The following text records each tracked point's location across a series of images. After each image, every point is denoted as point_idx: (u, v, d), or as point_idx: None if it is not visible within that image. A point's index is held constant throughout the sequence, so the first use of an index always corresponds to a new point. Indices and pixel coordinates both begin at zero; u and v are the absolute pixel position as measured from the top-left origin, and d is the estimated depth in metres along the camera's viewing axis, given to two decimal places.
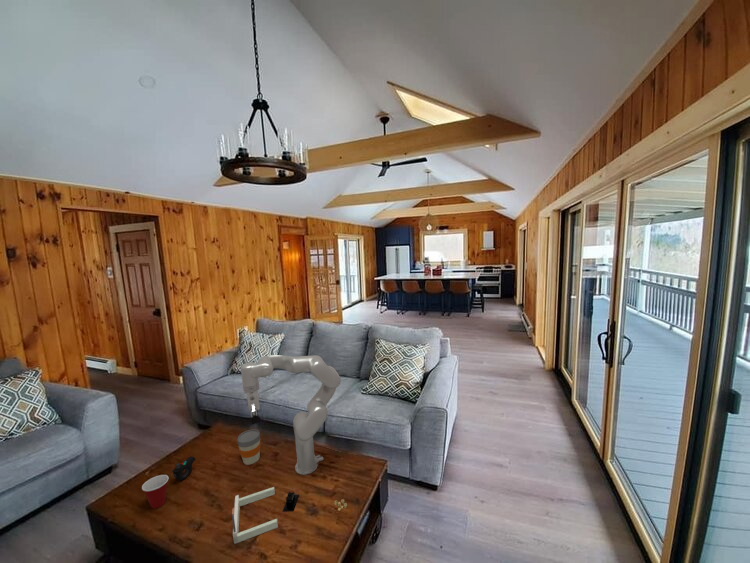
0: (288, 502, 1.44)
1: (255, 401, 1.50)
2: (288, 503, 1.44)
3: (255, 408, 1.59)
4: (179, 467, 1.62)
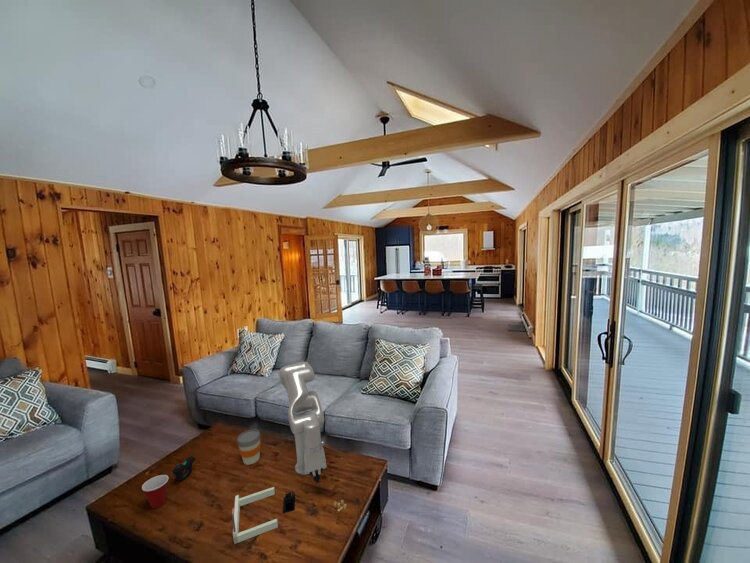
0: (287, 502, 1.43)
1: None
2: (287, 503, 1.43)
3: None
4: (179, 467, 1.62)
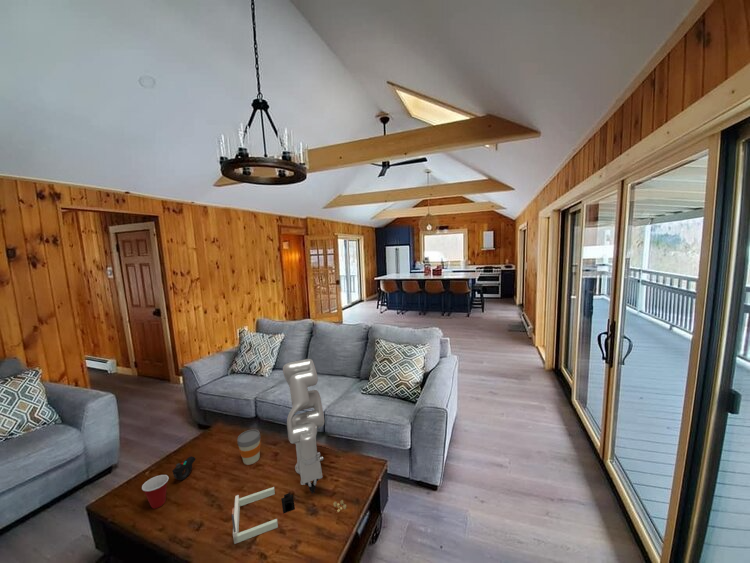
0: (287, 503, 1.43)
1: None
2: (287, 503, 1.43)
3: None
4: (179, 467, 1.62)
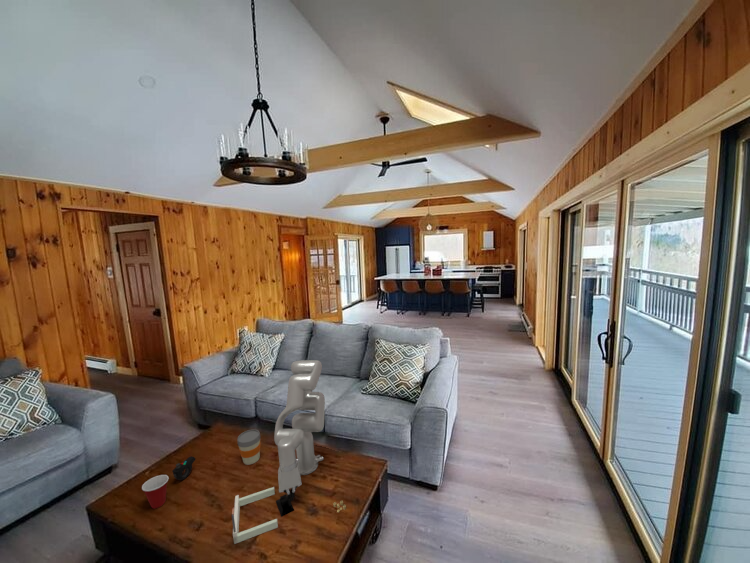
0: (284, 504, 1.43)
1: (299, 470, 1.47)
2: (284, 505, 1.43)
3: None
4: (179, 467, 1.62)
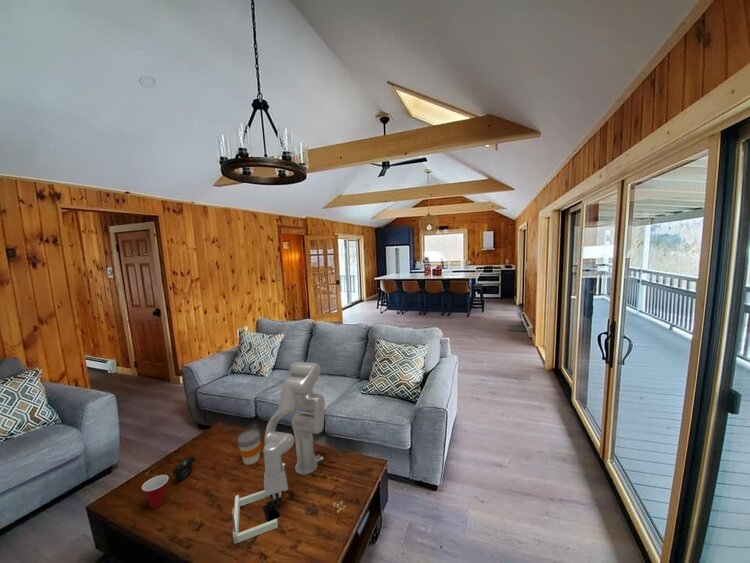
0: (271, 510, 1.40)
1: (285, 474, 1.45)
2: (271, 511, 1.40)
3: None
4: (179, 467, 1.62)
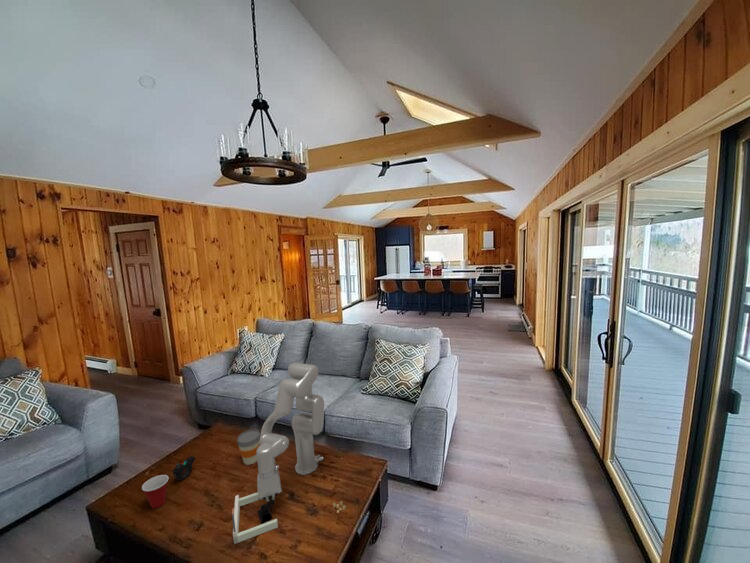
0: (264, 514, 1.38)
1: (279, 476, 1.44)
2: (264, 514, 1.38)
3: None
4: (179, 467, 1.62)
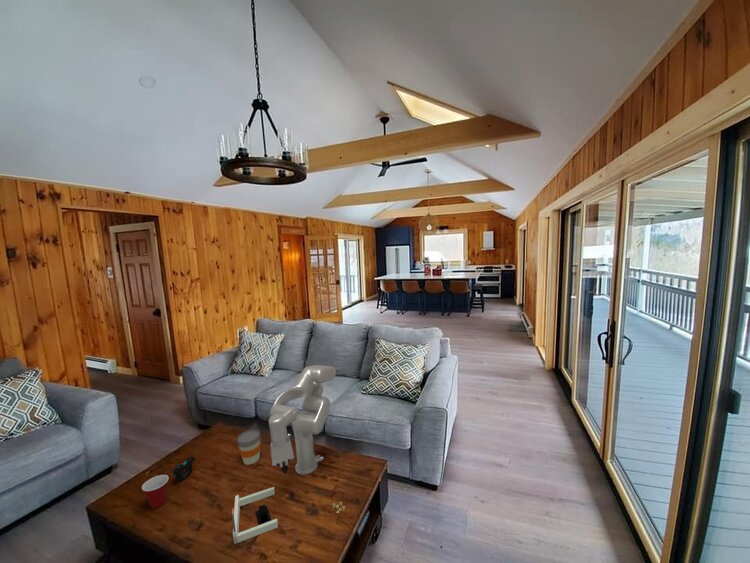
0: (262, 515, 1.38)
1: (291, 444, 1.51)
2: (262, 515, 1.38)
3: None
4: (179, 467, 1.62)
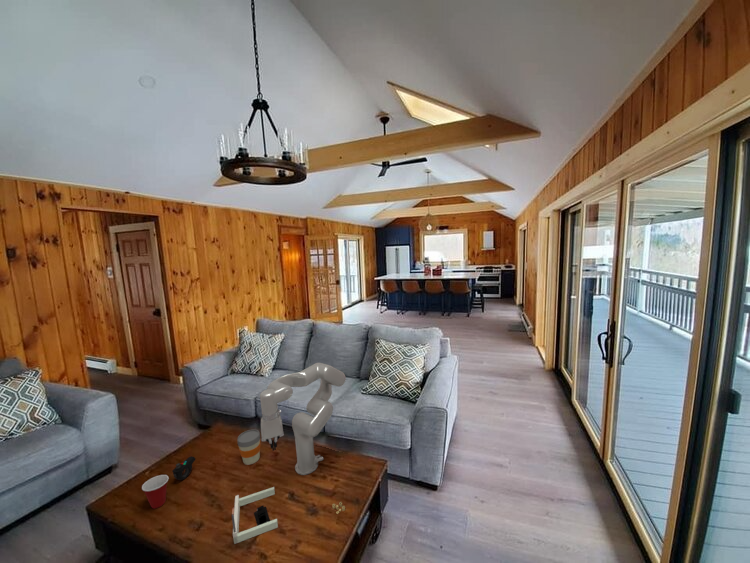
0: (261, 516, 1.37)
1: (281, 421, 1.53)
2: (261, 516, 1.37)
3: None
4: (179, 467, 1.62)
